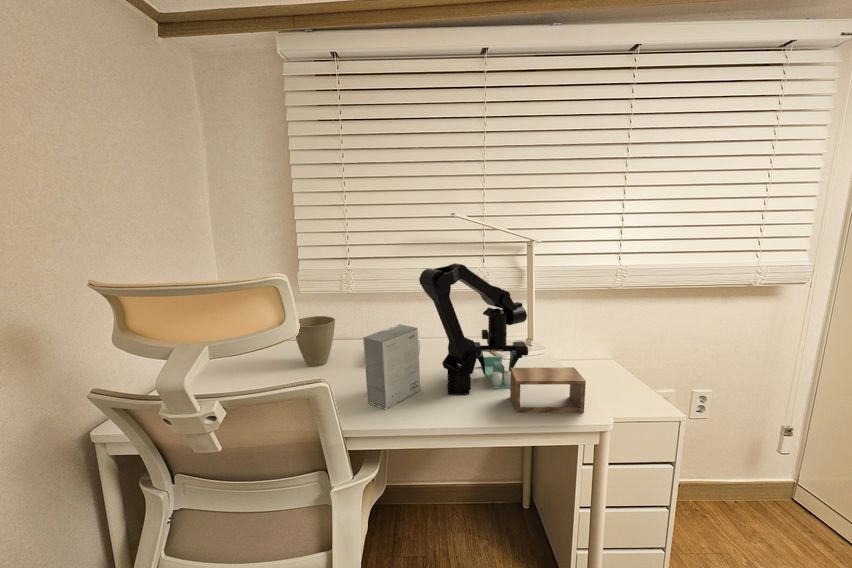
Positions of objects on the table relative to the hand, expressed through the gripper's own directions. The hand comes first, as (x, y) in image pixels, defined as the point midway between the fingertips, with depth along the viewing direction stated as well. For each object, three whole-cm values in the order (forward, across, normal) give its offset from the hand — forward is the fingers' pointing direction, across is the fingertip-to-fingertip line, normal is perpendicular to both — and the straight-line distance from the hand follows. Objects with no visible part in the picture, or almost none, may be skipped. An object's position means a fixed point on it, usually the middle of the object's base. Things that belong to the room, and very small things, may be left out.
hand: (496, 373), depth 127 cm
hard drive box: (+2, +32, +13) cm, 35 cm away
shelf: (+1, -11, +18) cm, 21 cm away
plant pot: (+2, +64, -14) cm, 66 cm away
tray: (+2, 0, -1) cm, 2 cm away
